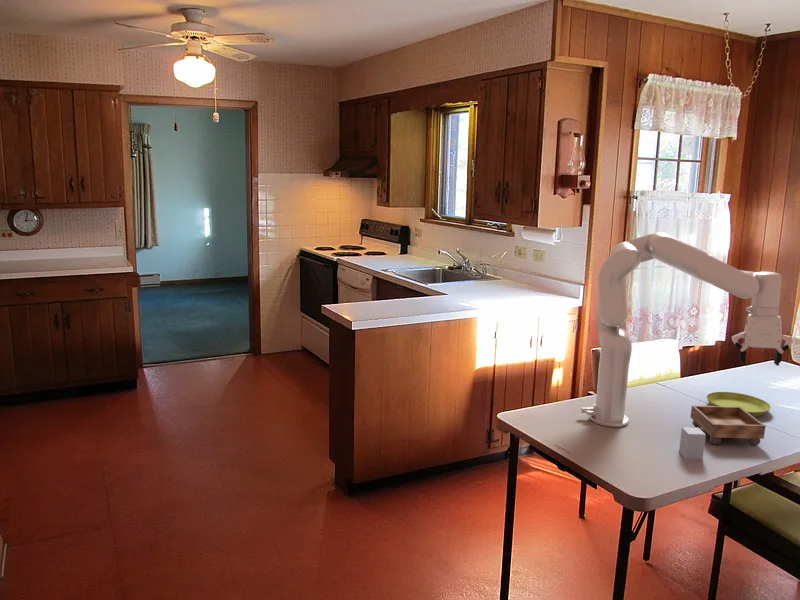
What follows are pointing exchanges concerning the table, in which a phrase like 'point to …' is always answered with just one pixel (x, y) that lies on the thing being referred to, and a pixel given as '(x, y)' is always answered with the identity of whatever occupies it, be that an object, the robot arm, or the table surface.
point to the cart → (727, 423)
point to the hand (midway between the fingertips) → (759, 363)
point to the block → (692, 443)
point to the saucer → (739, 402)
